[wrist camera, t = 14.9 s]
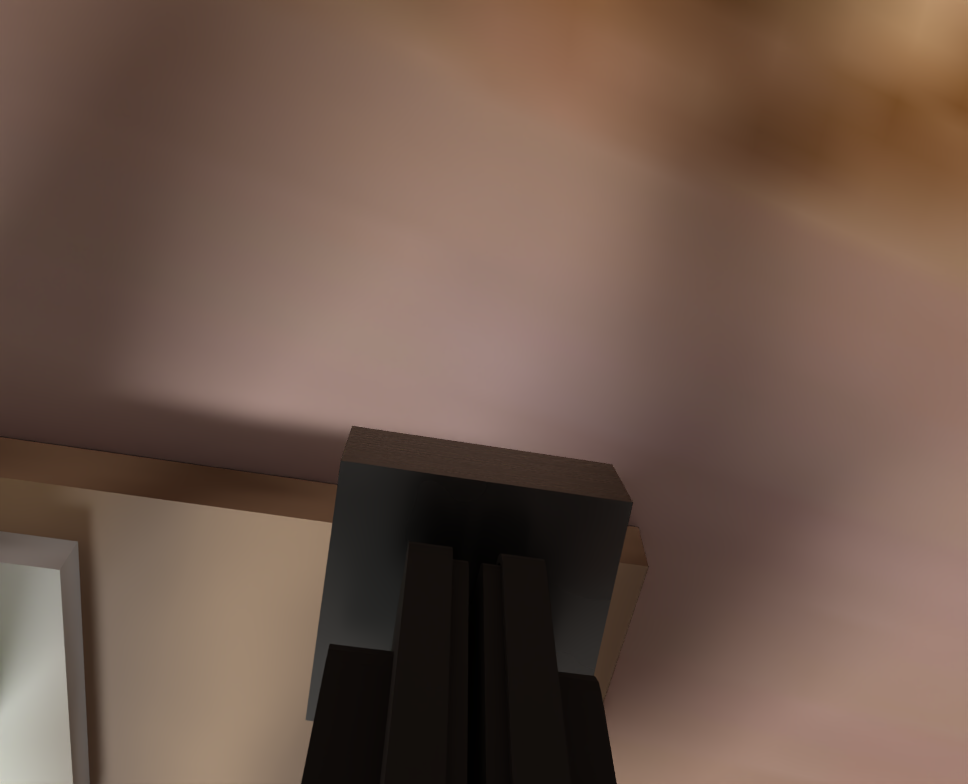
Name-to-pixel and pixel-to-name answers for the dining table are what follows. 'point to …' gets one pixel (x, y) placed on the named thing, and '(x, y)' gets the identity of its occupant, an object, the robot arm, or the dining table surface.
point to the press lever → (468, 534)
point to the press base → (171, 618)
